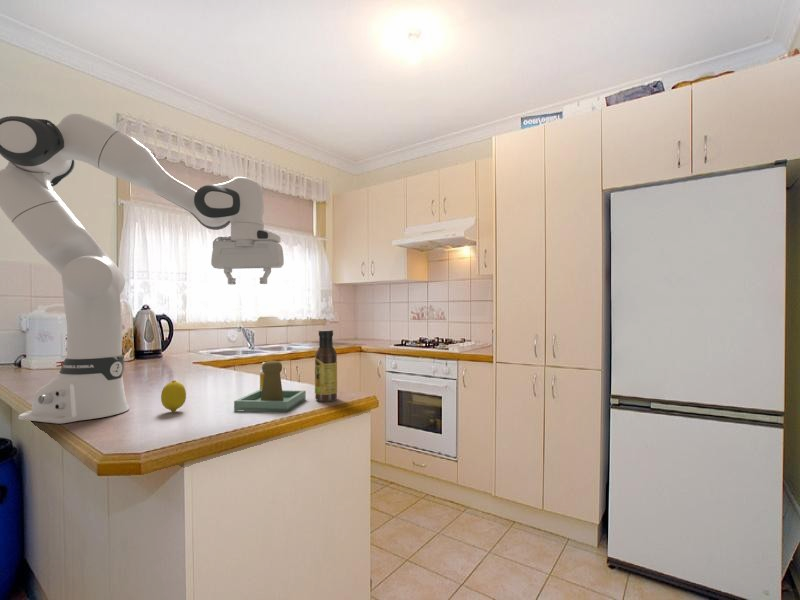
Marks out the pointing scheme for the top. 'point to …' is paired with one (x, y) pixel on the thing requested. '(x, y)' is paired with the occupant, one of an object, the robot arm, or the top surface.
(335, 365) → the sauce bottle
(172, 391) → the lemon
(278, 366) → the cork
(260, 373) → the supplement bottle
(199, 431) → the top surface
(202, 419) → the top surface
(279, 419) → the top surface
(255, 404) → the tray
